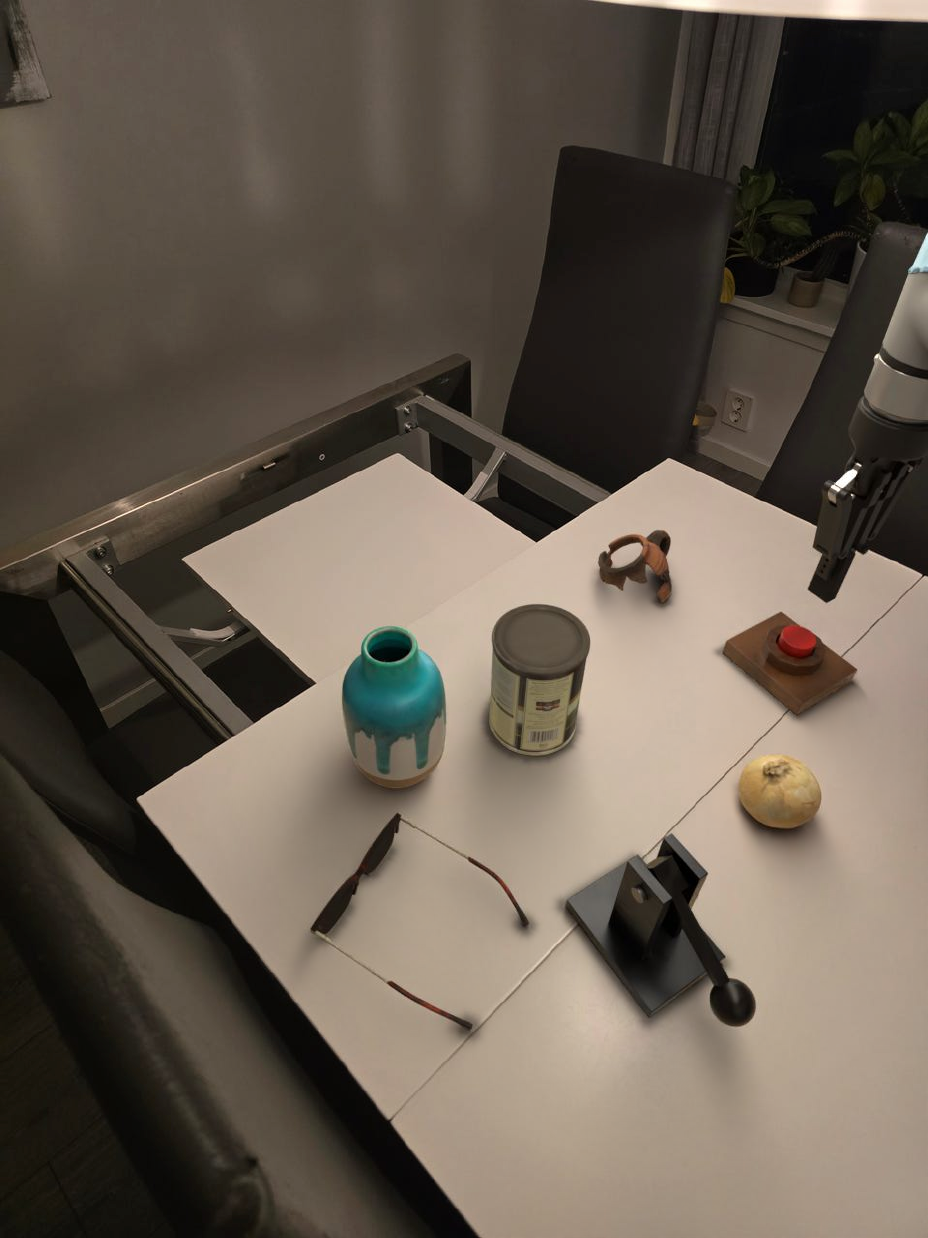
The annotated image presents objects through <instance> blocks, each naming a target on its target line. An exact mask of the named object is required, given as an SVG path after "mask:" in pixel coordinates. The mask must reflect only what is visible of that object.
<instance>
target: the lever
mask: <svg viewBox="0 0 928 1238" xmlns="http://www.w3.org/2000/svg"><path fill="white" fill-rule="evenodd" d="M646 864H647V865H645V866H646V868H647V869H648V870H649V871H650V872H651V873H652V875H653V876H654V877H655V878H656V879H657V880H658V882H659V883H660V884H661V885H662V886H663V887H664V889H665V890H666V891H667V892H668V893H669V894H670V896H671V897H672V900H671V903H670V907H671V909H672V910H673V912H674V914H675V916H676V918H677V920H678V921H679V923H680V925H681V927H682V929H683V930H684V932H685V934H686V936H687V938H688V940H689V941H690V943H691V945H692V947H693V949H694V950H695V952H696V954H697V956H698V958H699V960H700V961H701V963H702V965H703V967H704V969H705V970H706V972H707V974H706V975H707V976H708V978H709V980H710V981H711V983H712V985H713V986H712V987H711V990H710V992H709V1007H710V1008H711V1012H712V1013H713V1015H714V1017H715V1018H717V1020H718V1021H720V1022H721V1024H724V1025H726V1026H728V1027H732V1028H738V1027H739V1028H740V1027H744V1026H746V1025H747V1024H749V1023H750V1022H751V1021H752V1020H753V1018H754V1017H755V1014H756V1010H757V1002H756V998H755V995H754V993H753V990H752V989H751V988H750V987H749V986H748V984H746V983H745V982H743V980H740V979H738V978H734V977H729V976H728V974H727V972H726V970H725V968H724V966H723V964H722V963H720V961H719V959H718V957H717V956H716V954H715V952H714V950H713V948H712V947H711V945H710V943H709V941H708V939H707V938H706V936H705V934H704V932H705V931H704V929H703V928H702V927H701V925H700V923H699V922H698V920H697V917H696V916H695V914H694V912H693V910H692V909H690V907H689V905H688V903H687V902H686V900H685V898H684V896H683V894H682V893H681V891H683V890H684V889H686V888H687V887H689V885H688V883H687V881H686V880H685V878H684V876H683V874H682V872H681V871H680V869H679V867H678V865H677V863H676V862H675V860H674V858H673V856H672V855H671V856H662V857H657V856H656V858H654V859H652V860H651V861H649V862H648V863H646ZM701 928H702V929H703V930H702V929H701ZM703 931H704V932H703Z"/></svg>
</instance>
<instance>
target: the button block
mask: <svg viewBox="0 0 928 1238" xmlns="http://www.w3.org/2000/svg"><path fill="white" fill-rule="evenodd" d="M792 625H796V626H801V625H800V624H799V623H797V622H796V621H794V620H793V619H792V618H791V617H789V616H788V615H787V614H785V613H784V612H783V611H779V612H777V613H775V614H773V615H771V616H770V617H768V618H766V619H764V620H762V621H759V623H757V624H755V625H753V626H751V627H749V628H747V629H746V630H744V631H742V632H739V633H738V634H736V635H734V636H732V637H731V638H728V639H726V641H725V644H724V647H723V649H722V653H723V654H724V655H725V656H726V657H727V658H729V659H730V660H731V661H732V662H733V663H735V665H737V666H738V667H739V668H740V669H742V670H743V671H744V672H745V673H746V674H748V675H749V676H750V677H751V678H752V679H753V680H754V681H756V682H757V683H758V684H759V685H760V686H762V687H763V689H765V690H766V691H768V692H769V693H770V695H772V696H774V698H776V699H777V700H778V701H779V702H780V703H782V704H783V705H784V706H785V707H786V708H787V709H789V710H790V711H791V712H792V713H793V714H795V716H797V715H799V714H801V713H803V712H804V711H805V710H808V709H809V708H810V707H812V706H813V705H815V704H818V703H819V702H821V700H824V699H825V698H826V697H828V696H830V695H831V694H833V693H835V692H836V691H838V690H840V689H841V688H843V687H845V686H846V685H848V684H850V683H852V681H853V679H854V678H855V675H856V674H857V672H858V670H859V669H858V668H856V667H855V666H854V665H852V664H851V663H850V662H848V661H847V660H846V659H845V658H843V657H842V656H841V655H839V654H838V653H837V652H835V651H834V650H833V649H832V648H830V647H829V646H828V645H826V644H825V643H824V642H823V641H822V639H821V638H820V636H818V635H817V634H816V633H814V632H812V633H813V634H814V636H815V638H816V644H815V646H814V648H813V651H812V653H811V654H810V655H809V656H808V657H806V658H802V659H797V658H793V657H791V656H788V655H786V654H785V653H783V652H782V651H781V650H780V649H779V647H778V640H779V638H780V635H781V633H782V630H783V629H784V628H786V627H788V626H792Z"/></svg>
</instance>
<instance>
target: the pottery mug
mask: <svg viewBox="0 0 928 1238" xmlns="http://www.w3.org/2000/svg"><path fill="white" fill-rule="evenodd" d="M632 544H640V546H642V550H641V552H640V554H639V555H638V556H637V557H636V558H635V559H634V560H633V561H631V562H630V563H628V564H626V565H623V566H620V567H612V566H613V560H612V555H613V554H614V553H615V552H616V551H619V550H620V549H621V548H624V547H626V546H629V545H632ZM671 544H672V539H671V536H670V535H669V533H668V532H667V531H665V530H662V529H656V530H653V531H652V532H651V533H649V535H647V536H646V537H645V536H643V535H641V534H637V533H634V534H633V533H631V534H626V535H623V536H620V537H618V538H615V539H614V540H612V541H611V542H609V544H607V546H608V549H609V551H608V552H607V551H606V550H603V551H602V552H600V553H599V556H598V560H597V563H598V567H599V570H598V571H599V572H598V573H599V578H600V580H601V582H603V583H605V584H607V585H612V586H614V587H616V588H617V589H618V590H620V591H621V592H623V591H624V586H625V582H626V580H627V579H629V580H630V582H635V583H638V584H641V585H644V584H646V583H648V578H647V576H646V574H647V571H646V570H647V569H646V568H647V566H648V567H650V569H651V570H652V571H653V573H654V574H655V575H657V576H661V578H662V580H664V583H663V585H662V586H661V587H660V588H659V590H657V592H656V595H657V597H659V598H658V599H659V600H658V601H659V603H660V604H663V603H664V602H665V601H667V600H668V598H669V597H670V595H671V593H672V589H673V584H672V580H671V579H672V578H671V575H670V569H669V568H670V567H669V562H668V558H667V556H668V554H669V551H670V549H671Z"/></svg>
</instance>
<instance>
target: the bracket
mask: <svg viewBox="0 0 928 1238" xmlns="http://www.w3.org/2000/svg"><path fill="white" fill-rule="evenodd" d="M671 855H672V856H673V858H674V860H675V862H676V863H677V865H678V867H679V869H680V871H681V872H682V874H683V876H684V878H685V880H686V881H687V883H688V885H689V887H687V888H686V889H684V890H683V891H681V893H682V894H683V896H684V898H685V900H686V902H687V903H688V905H689V907H690V909H691V910H693V908H694V905H695V903H696V901H697V899H698V897H699V894H700V892H701V890H702V888H703V885H704V883H705V881H706V879H707V877H708V876H709V872H708V871H707V870H706V868H705V867H704V866H703V865H702V864H701V863H700V862H699V861H698V860H697V859H696V858H695V856H693V855H692V853H690V851H689V850H688V849H687V848H686V847H685V846H684V845H683V844H682V843H681V841H680V840H679V839H678V838H677V837H676V836H675V835H674V834H673V833H670V834H668V835H667V836H665V837H663V838H662V841H661V844H660V847H659V849H658V852H657V854H656V858H657V857H662V856H671ZM647 864H648V863H647V862H646V861H645V860H643V858H642V857H641V856H640V855H639V854H636V855H634V856H633V857H631V858H630V859H628V860H626V861H625V862H624V863H622V864H621V865H618V866H617V867H616V868H614V869H613V870H611V871H609V872H608V873H606V874H604V875H603V876H602V877H600V878H598V879H597V880H596V881H594V882H592V883H591V884H589V885H588V886H586V887H584V888H583V889H582V890H580V891H579V892H576V893H575V894H574V895H572V896H570V897H569V898H567V899H566V902H565V907H566V909H567V910H568V911H569V913H570V914H571V915H572V917H573V918H574V919H575V921H576V922H577V924H578V925H579V926H580V927H581V929H582V930H583V931H584V933H585V934H586V935H587V937H588V938H589V939H590V941H591V942H592V943H593V945H594V946H595V947H596V949H597V950H598V951H599V953H600V954H601V955H602V957H603V958H604V959H605V961H606V962H607V964H608V965H609V966H610V968H611V969H612V970H613V972H614V973H615V974H616V975H617V977H618V978H619V979H620V980H621V982H622V983H623V985H624V986H625V987H626V989H627V990H628V991H629V993H630V994H631V995H632V997H633V998H634V999H635V1000H636V1002H637V1004H638V1005H639V1006H640V1007H641V1009H642V1010H643V1012H644V1013H645V1014H646V1015H647V1017H648V1018H651V1017H652V1016H654V1015H655V1014H656V1013H657V1012H658V1011H661V1009H663V1008H664V1007H666V1005H668V1004H669V1003H671V1002H672V1001H673V1000H674V999H676V998H677V997H679V996H680V995H681V994H683V993H684V992H685V991H687V990H688V989H689V988H690V987H692V986H693V985H694V984H696V983H697V982H698V981H700V980H701V979H703V978H704V977H705V976H706V975H708V974H707V972H706V970H705V969H704V967H703V965H702V963H701V961H700V960H699V958H698V956H697V954H696V952H695V950H694V949H693V947H692V945H691V943H690V941H689V940H688V938H687V936H686V934H685V932H684V930H683V929H682V927H681V925H680V923H679V921H678V920H677V918H676V916H675V914H674V912H673V910H672V909H671V907H670V903H671V900H672V897H671V896H670V894H669V893H668V892H667V891H666V890H665V889H664V887H663V886H662V885H661V884H660V883H659V882H658V880H657V879H656V878H655V877H654V876H653V875H652V873H651V872H650V871H649V870H648V869H647V868H646V866H645V865H647ZM701 929H702V930H703V932H704V934H705V936H706V938H707V939H708V941H709V943H710V945H711V947H712V948H713V950H714V952H715V954H716V956H717V957H718V959H719V961H720V963H721V964H723V962H724V961H725V959H726V955H725V954H724V952H722V951H721V949H720V948H719V947H718V946H717V944H716V943H715V942H714V941H713V940H712V938H711V937H710V936H709V935H708V933H706V932H705V930H704V929H703V928H702V927H701Z"/></svg>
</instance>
